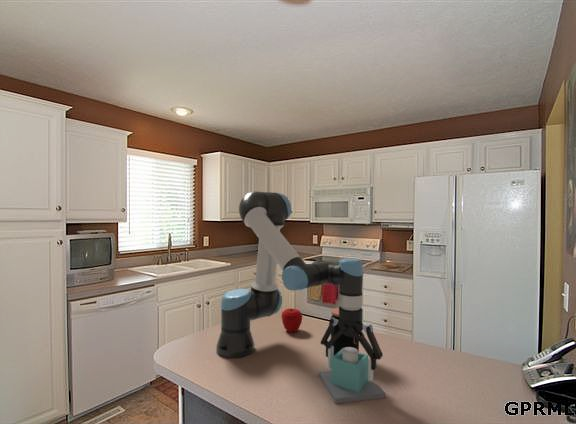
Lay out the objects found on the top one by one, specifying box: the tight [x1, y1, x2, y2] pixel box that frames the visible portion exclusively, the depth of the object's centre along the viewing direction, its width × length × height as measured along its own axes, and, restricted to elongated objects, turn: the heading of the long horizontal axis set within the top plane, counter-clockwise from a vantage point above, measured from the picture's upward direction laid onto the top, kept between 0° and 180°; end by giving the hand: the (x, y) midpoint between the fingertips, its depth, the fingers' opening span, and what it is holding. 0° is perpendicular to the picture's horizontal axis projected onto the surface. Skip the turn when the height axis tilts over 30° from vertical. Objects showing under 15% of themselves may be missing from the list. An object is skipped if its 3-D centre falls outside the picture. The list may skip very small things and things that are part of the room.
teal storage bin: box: [330, 348, 369, 392], centre depth 100 cm, size 9×9×8 cm
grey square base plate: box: [318, 347, 386, 404], centre depth 100 cm, size 16×16×12 cm
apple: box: [281, 308, 303, 333], centre depth 147 cm, size 10×10×11 cm
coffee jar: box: [330, 306, 360, 356], centre depth 120 cm, size 11×11×18 cm
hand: (349, 372), depth 100 cm, fingers open, 13 cm apart
